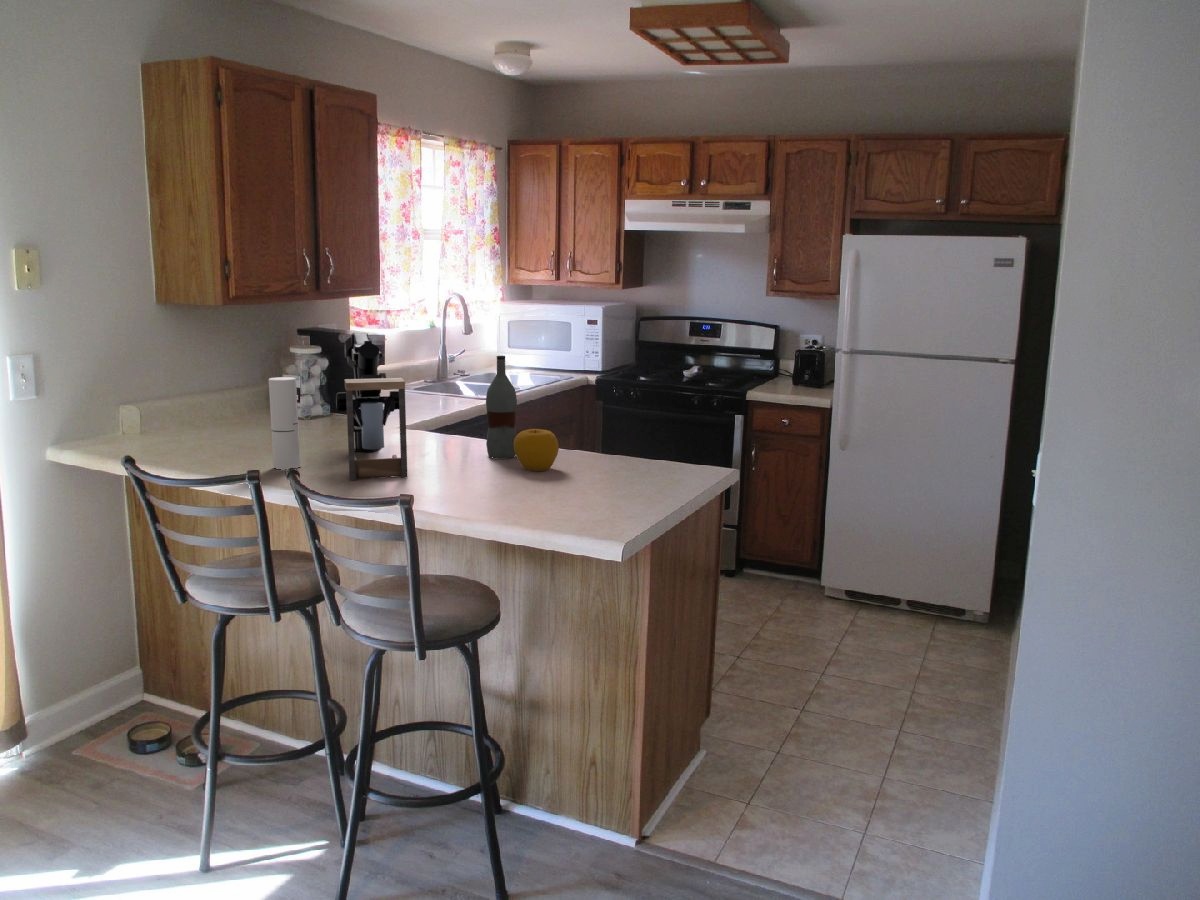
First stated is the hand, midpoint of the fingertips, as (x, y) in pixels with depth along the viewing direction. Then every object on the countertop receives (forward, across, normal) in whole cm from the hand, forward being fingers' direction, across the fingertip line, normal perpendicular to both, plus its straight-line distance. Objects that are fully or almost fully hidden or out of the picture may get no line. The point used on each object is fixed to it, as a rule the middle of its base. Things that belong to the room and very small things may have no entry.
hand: (372, 425), depth 270 cm
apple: (+19, +43, -2) cm, 47 cm away
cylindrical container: (+5, -23, +13) cm, 27 cm away
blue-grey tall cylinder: (+4, 0, +6) cm, 7 cm away
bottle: (+4, +38, +13) cm, 40 cm away
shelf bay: (+14, 0, +3) cm, 15 cm away
